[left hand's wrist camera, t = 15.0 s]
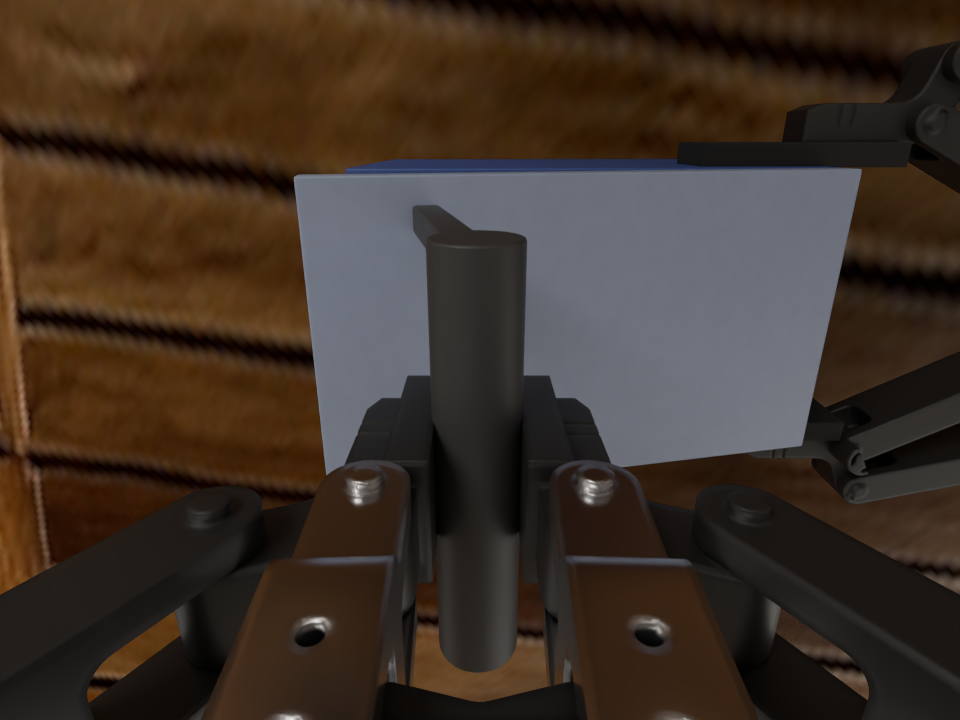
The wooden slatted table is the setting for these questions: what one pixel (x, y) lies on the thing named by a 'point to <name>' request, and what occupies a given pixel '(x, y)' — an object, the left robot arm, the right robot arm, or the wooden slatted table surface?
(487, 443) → the grey lid
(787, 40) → the wooden slatted table surface
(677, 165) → the chest
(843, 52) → the wooden slatted table surface
